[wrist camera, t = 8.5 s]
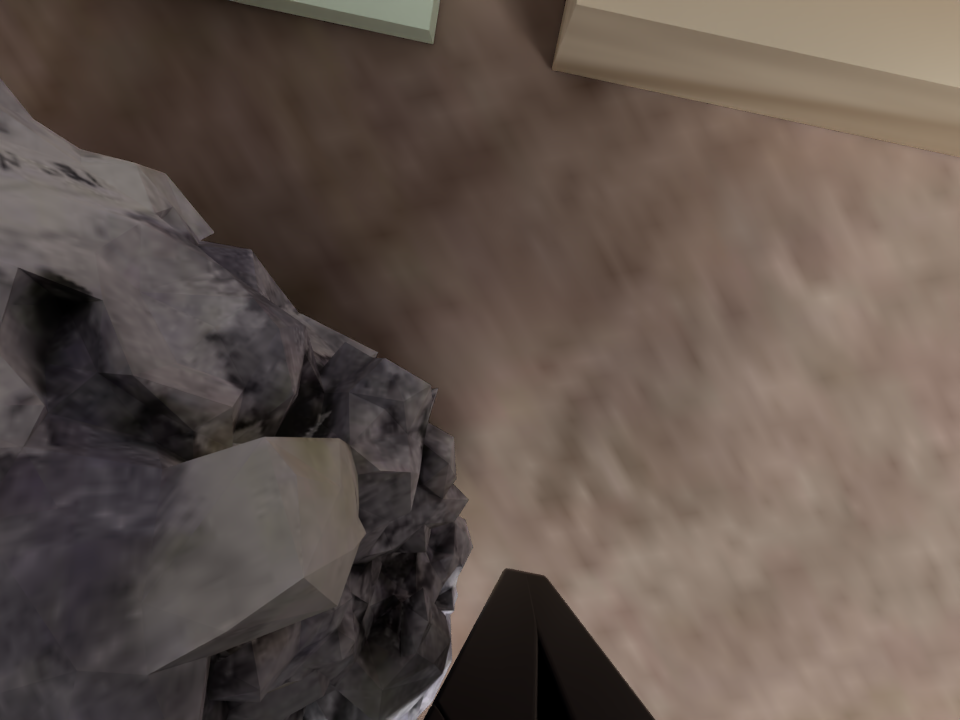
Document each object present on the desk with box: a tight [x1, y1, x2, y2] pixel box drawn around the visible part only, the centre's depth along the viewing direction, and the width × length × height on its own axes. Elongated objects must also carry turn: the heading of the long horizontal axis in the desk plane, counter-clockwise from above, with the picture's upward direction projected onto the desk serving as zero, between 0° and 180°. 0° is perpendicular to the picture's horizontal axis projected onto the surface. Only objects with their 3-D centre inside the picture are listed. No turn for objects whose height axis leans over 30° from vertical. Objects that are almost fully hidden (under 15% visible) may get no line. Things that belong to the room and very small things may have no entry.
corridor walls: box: [552, 0, 960, 157], centre depth 9 cm, size 20×10×2 cm, turn 169°
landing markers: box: [229, 0, 440, 44], centre depth 10 cm, size 20×12×1 cm, turn 169°
